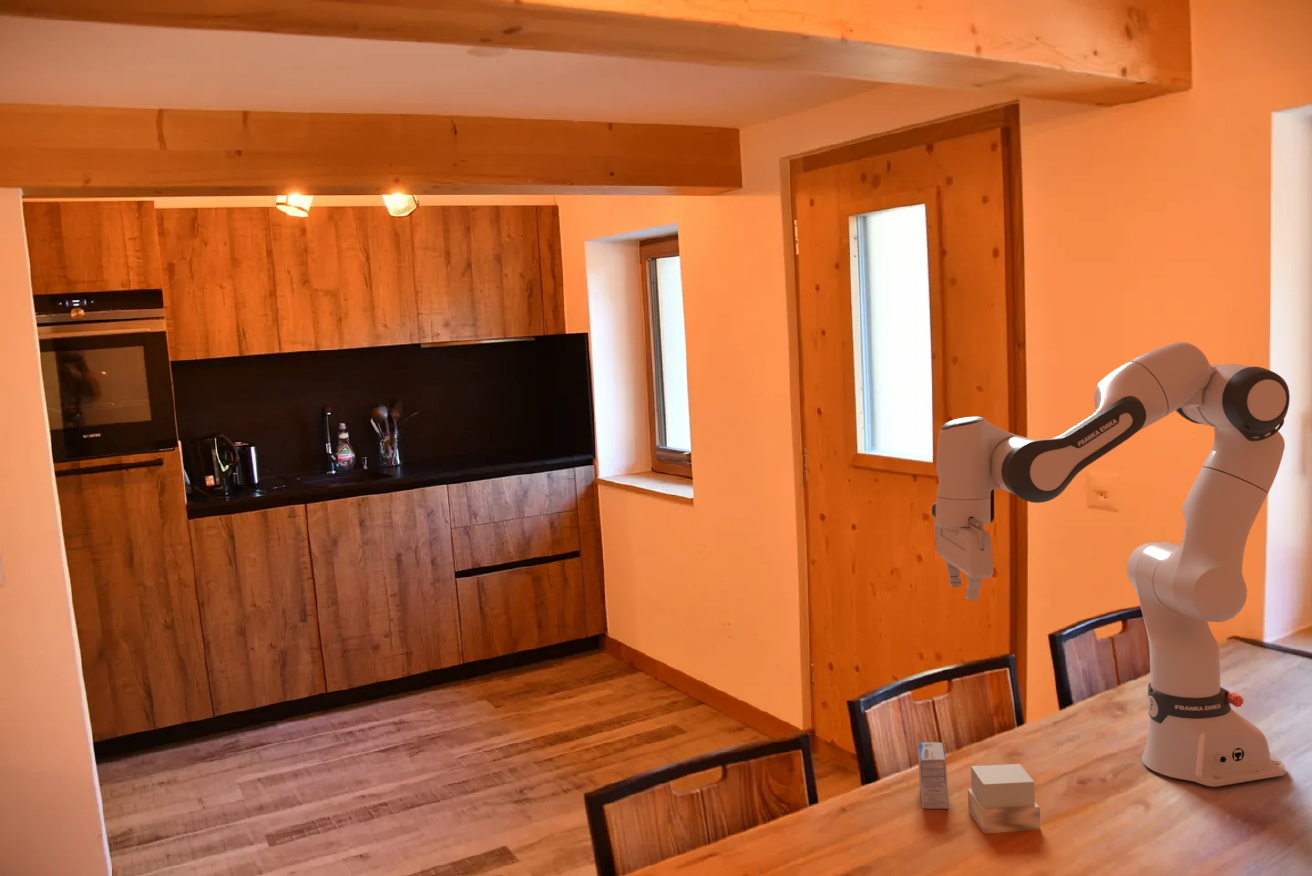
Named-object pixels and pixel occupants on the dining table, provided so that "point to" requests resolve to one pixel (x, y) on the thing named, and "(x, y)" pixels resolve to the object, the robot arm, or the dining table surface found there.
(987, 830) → the tower base
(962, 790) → the dining table surface
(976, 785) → the tower top
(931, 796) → the medicine box
